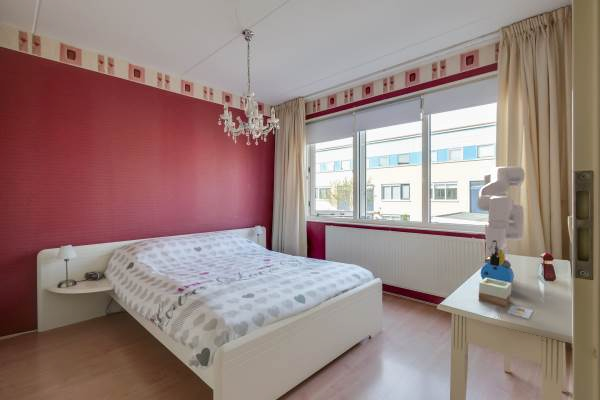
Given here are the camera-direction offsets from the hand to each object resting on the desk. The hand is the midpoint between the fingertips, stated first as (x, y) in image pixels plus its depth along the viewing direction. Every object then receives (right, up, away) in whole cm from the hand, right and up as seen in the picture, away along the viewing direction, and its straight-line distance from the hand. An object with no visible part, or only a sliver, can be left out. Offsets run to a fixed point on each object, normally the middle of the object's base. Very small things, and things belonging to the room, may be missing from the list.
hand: (496, 263), depth 126 cm
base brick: (0, -17, +1) cm, 17 cm away
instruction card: (+3, -18, -10) cm, 21 cm away
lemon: (0, -1, 0) cm, 1 cm away
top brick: (0, -13, +1) cm, 13 cm away
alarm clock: (+13, -17, +18) cm, 27 cm away
